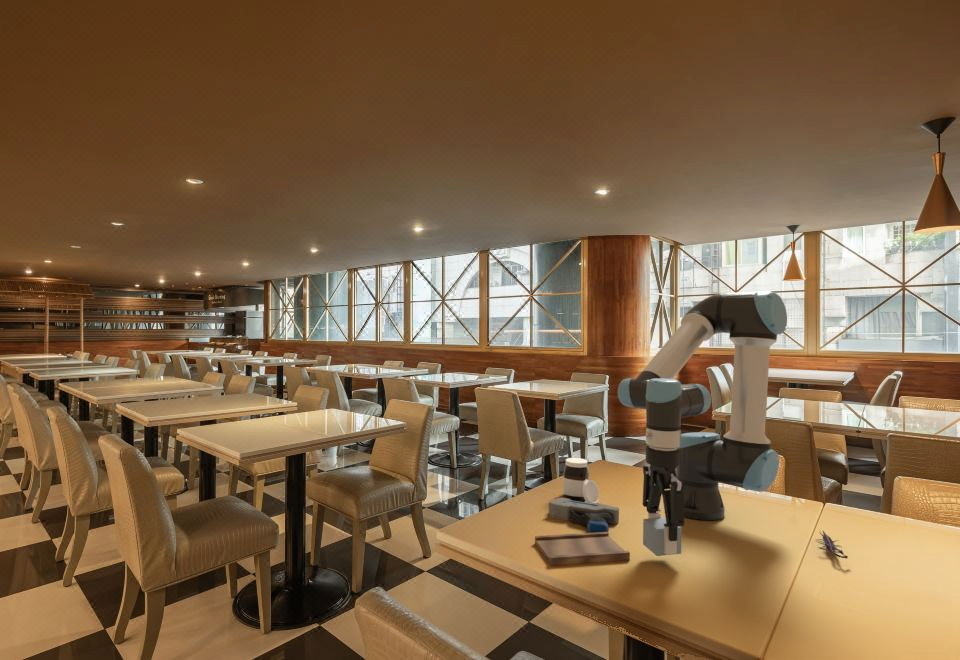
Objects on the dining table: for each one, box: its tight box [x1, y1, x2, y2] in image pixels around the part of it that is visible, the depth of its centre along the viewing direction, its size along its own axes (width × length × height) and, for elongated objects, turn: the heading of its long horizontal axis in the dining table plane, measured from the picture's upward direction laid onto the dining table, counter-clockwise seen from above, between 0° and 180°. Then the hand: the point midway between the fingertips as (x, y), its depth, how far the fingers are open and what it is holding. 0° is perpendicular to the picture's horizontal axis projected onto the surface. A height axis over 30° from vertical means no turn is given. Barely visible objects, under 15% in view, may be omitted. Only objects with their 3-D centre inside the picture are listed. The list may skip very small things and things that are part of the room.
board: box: [534, 531, 631, 567], centre depth 121 cm, size 19×12×2 cm, turn 101°
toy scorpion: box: [814, 530, 849, 559], centre depth 124 cm, size 6×18×5 cm, turn 155°
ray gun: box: [548, 497, 620, 533], centre depth 139 cm, size 4×19×15 cm
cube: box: [642, 516, 683, 557], centre depth 116 cm, size 6×6×6 cm
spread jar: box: [562, 457, 600, 503], centre depth 159 cm, size 12×11×12 cm
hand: (662, 546), depth 117 cm, fingers closed on cube, 6 cm apart
